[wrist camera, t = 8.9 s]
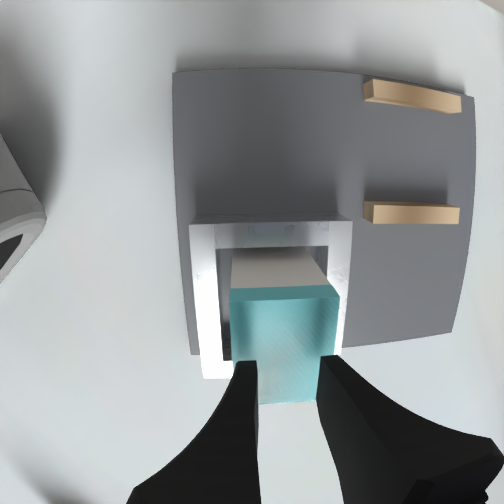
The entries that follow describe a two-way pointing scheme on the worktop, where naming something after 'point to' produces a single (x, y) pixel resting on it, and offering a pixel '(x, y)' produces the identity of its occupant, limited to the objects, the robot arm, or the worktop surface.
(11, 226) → the alarm clock
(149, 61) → the worktop surface
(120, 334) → the worktop surface
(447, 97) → the wooden parallel rails
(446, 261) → the panel board
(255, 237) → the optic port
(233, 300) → the plug
